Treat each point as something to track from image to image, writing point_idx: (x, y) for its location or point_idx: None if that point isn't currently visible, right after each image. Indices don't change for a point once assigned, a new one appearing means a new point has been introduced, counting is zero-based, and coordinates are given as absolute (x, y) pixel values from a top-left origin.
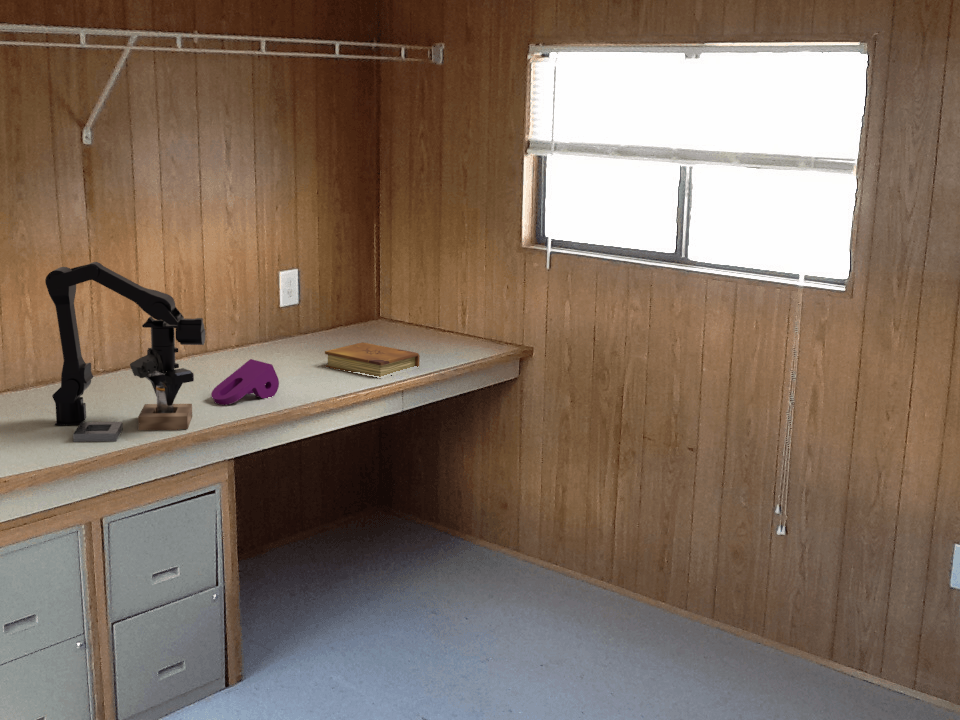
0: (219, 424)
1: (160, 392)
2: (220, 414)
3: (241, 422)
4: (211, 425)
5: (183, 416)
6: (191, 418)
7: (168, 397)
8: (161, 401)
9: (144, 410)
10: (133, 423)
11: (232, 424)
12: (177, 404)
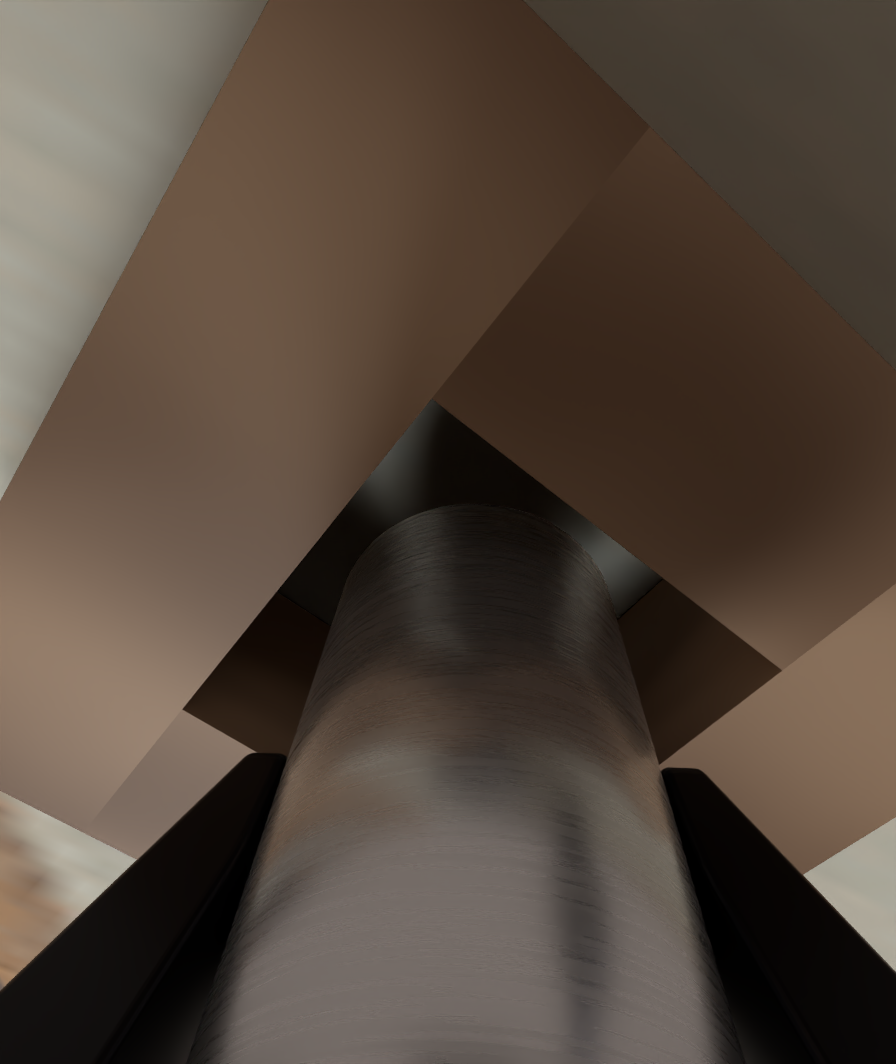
0: (68, 896)
1: (284, 1036)
2: None
3: None
4: (71, 839)
5: None
6: None
7: (67, 945)
8: (335, 742)
9: (784, 379)
10: (880, 158)
11: (11, 955)
12: None
